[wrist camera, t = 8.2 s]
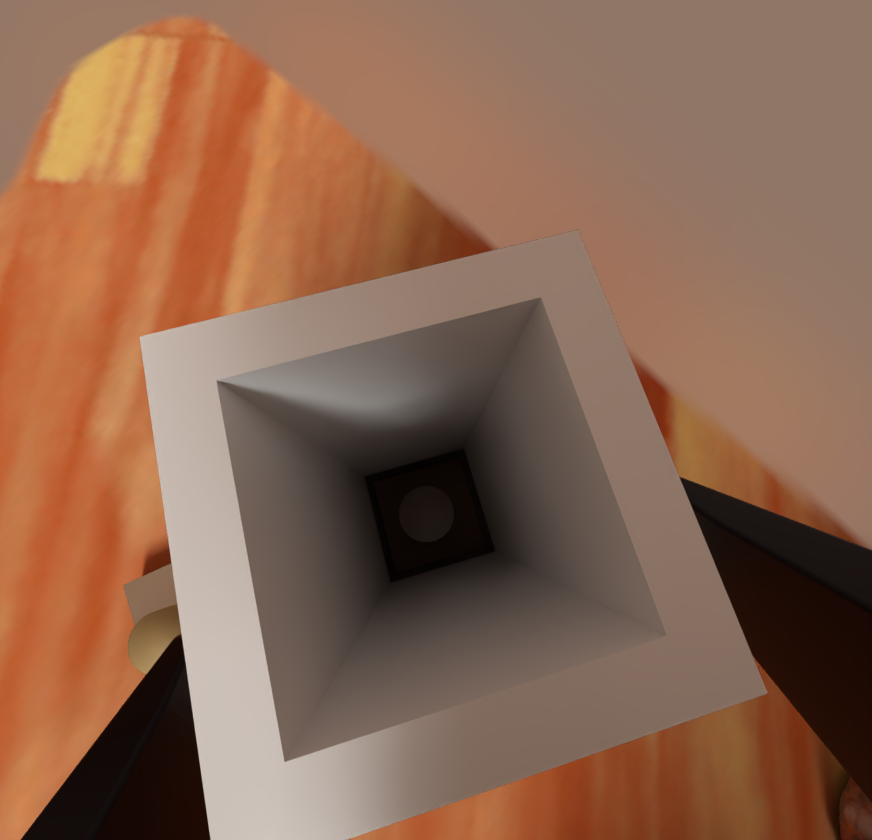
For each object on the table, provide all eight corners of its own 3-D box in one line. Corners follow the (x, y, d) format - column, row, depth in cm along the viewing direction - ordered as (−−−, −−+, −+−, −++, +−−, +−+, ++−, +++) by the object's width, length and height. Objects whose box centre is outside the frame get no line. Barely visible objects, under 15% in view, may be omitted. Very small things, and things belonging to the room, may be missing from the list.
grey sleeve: (507, 559, 17) (768, 693, 4) (383, 597, 16) (217, 884, 3) (470, 437, 18) (578, 229, 5) (352, 470, 17) (139, 336, 5)
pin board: (553, 639, 17) (590, 676, 13) (212, 821, 15) (138, 925, 11) (454, 436, 19) (461, 415, 15) (140, 581, 17) (55, 600, 13)
